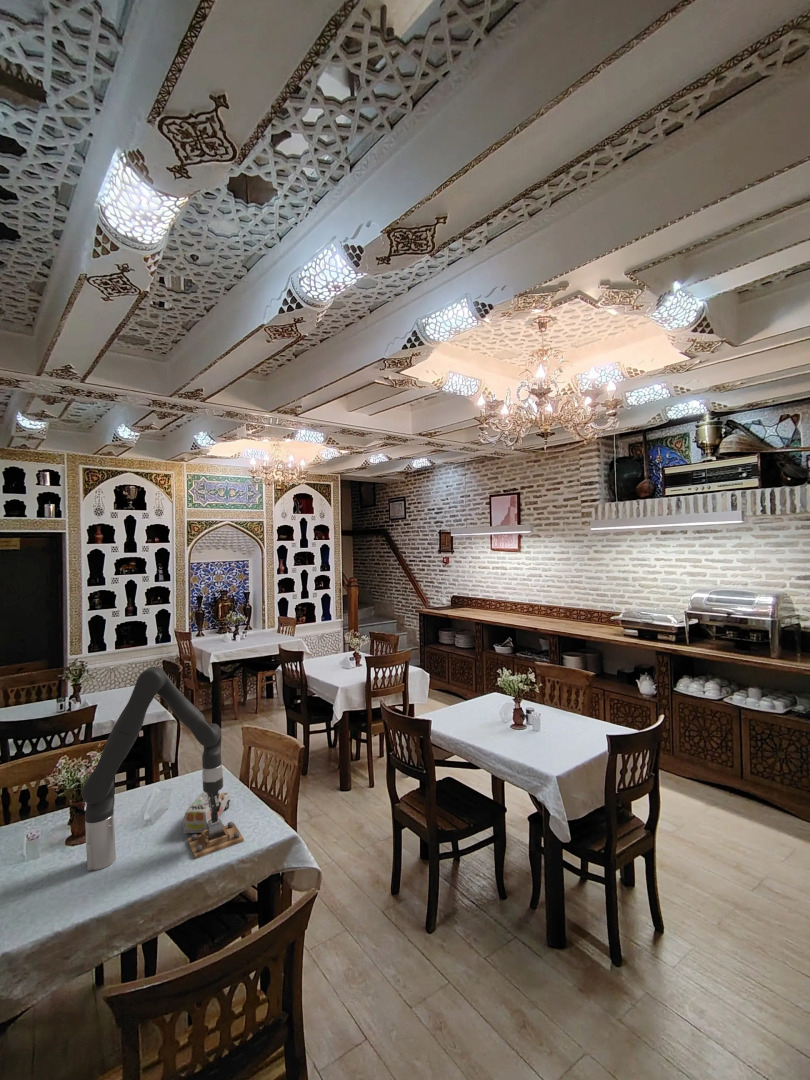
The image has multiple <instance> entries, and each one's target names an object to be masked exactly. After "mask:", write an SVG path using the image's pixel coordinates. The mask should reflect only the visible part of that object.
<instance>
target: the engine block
mask: <svg viewBox="0 0 810 1080" xmlns="http://www.w3.org/2000/svg"><path fill="white" fill-rule="evenodd" d="M222 824H223V822H222V820H221V819H220V818H218V820H217V821H215V822H212V821H210V822H209V823H207V838H208V840H209V841H211V840H213V839H216V838H219V837H222V836H223V825H224V824H223V825H222Z"/></svg>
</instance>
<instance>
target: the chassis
mask: <svg viewBox="0 0 810 1080" xmlns="http://www.w3.org/2000/svg"><path fill="white" fill-rule="evenodd" d="M222 825H223V836H222V837H219V838H216V839H213V840H211V841H209V840H208V838H207V830H204V831H201V833H192V834H191V837H188V838H187V843H188V845H189V848H190V849H191V853H192V855H193V857H194V859H195V860H196V859H199V858H202V857H204V856H207V855H210V854H213V853H216V852H218V851H221V850H223V849H227V848H229V847H233V846H235V845H238V844H240V843H243V842H245V839H244V837H243V835H242V833H241V832H240V830H239V829H238V827H237V826H236V823H234V822H233V821H229V822H227V824H226V825H224V824H223V823H222Z"/></svg>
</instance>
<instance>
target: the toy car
mask: <svg viewBox="0 0 810 1080" xmlns="http://www.w3.org/2000/svg"><path fill="white" fill-rule="evenodd" d="M218 794H220V798H219V802H221V806H220V810H219V812H218V818H220V816H221V814H222V813H223V812H224V811H228V809H229V808H230V807H229V806H230V803H231V799H230V797H231V795H230V793H229V792H222V791H220V790H219V791H218ZM210 821H212V820H211V811H210V808H209V804H208V798H207V793H206V792H204V791H203V792H201V794H200V795H198V797H197V798H196V799H195V800H194V801H193V802H192V803H191V804H190V806H189V807H188V808H187V810H185V812H184V816H183V822H182V827H183V831H182V832H183V834H201V831H204V830H207V823H209V822H210Z"/></svg>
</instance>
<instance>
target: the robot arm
mask: <svg viewBox="0 0 810 1080" xmlns="http://www.w3.org/2000/svg"><path fill="white" fill-rule="evenodd" d="M156 695H158V696H159V697H160V698H162V700H163V701H164V702H165V703H166V704H167V705H168V707H169V708H170V710H171V711H172V712H173V714H174V715H175V717H176V718H177V719H178V721H179V720H180V722H181V723H182V724H183V725H184V726H186V727H187V728H188V730H190V732H191V733H192V735H193V736H194V738H195V739H196V740H197V741H198V743H199V744H200V745H202V746H203V752H202V758H201V759H202V763H201V765H202V770H201V771H202V775H201V776H202V777H201V778H202V779H201V780H202V790H203V792H206V793H207V798H208V804H209V808H210V811H211V820H212V822H215V821H217V820H218V819H219V817H218V812H219V810H220V806H221V802H219V798H220V794H218V791H219V792H220V790H222V789H223V787H224V775H223V774H224V773H223V766H222V764H223V763H222V752H221V748H222V729H221V727H220V725H218V724H217V723H208V722H207V721H206V717H205V715H204V714H203V713H202V711H200V710H199V709H198V708H197V707H196V706H195V705H194V704H193V703H192V702H191V701H190V700H189V699H188V698H187V697H186V696H185V695H184V694H183V693H182V692H181V691H180V690H179V689H178V688H177V686H176V685H175V684H174V682H172V681H171V679H170V677H169V676H168V675H167V673H166V672H165V670H164V669H163V668H161V667H159V666H151V667H148V668H146V669H145V670H144V671H142V672H141V673H139V675H138V677H137V679H136V682H135V685H134V687H133V690H132V692H131V695H130V698H129V699H128V702H127V704H126V705H125V707H124V708H123V710H122V712H121V713H120V714H119V717H118V718H117V720H116V722H115V723H114V725H113V728H112V729H111V731H110V733H109V735H108V738H107V740H106V742H105V745H104V747H103V750H102V752H101V754H100V757H99V760H98V762H97V764H96V766H95V768H94V769H93V771H92V773H91V774H90V775H89V776H88V778H87V779H86V781H85V782H84V784H83V786H82V788H81V797H82V799H83V802H85V803H86V805H85V806H86V807H85V811H84V823H85V826H84V827H85V850H86V851H85V852H86V867H87V872H90V871H97V870H102V869H104V868H107V867H108V866H110V865H112V864H113V863H114V862H115V861H116V859H117V852H116V830H115V828H116V827H115V813H114V812H115V811H114V809H115V777H116V774H117V772H118V770H119V768H120V767H121V765H122V763H123V762H124V760H125V759H126V758H127V756H128V754H129V753H130V751H131V749H132V748H133V746H134V744H135V743H136V740H137V738H138V736H139V734H140V732H141V729H142V727H143V724H144V721H145V717H146V714H147V711H148V708H149V706H150V705H151V703H152V701H153V700H154V698H155V697H156Z"/></svg>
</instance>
